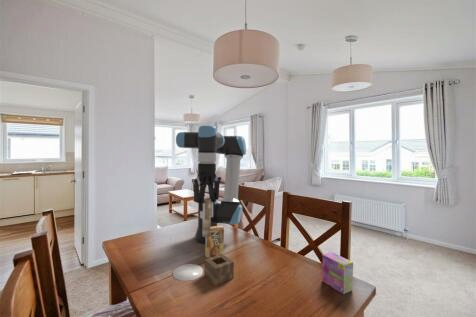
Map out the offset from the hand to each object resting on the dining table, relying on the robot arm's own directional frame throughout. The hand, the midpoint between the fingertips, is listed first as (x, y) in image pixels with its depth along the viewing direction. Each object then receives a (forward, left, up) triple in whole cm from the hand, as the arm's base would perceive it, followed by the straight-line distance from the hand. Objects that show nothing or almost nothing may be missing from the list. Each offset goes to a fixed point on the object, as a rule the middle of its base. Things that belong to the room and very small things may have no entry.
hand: (206, 217), depth 96 cm
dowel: (0, 0, -8) cm, 8 cm away
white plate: (+5, -6, -26) cm, 28 cm away
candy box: (-13, -13, -26) cm, 32 cm away
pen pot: (-4, +5, -26) cm, 27 cm away
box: (-40, +37, -26) cm, 61 cm away
